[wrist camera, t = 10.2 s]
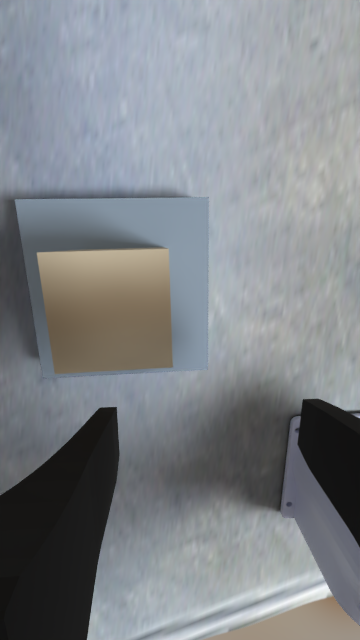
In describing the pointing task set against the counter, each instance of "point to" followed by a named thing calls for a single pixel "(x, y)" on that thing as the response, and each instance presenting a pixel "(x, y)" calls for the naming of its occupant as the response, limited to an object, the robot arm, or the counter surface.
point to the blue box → (126, 232)
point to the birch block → (107, 308)
